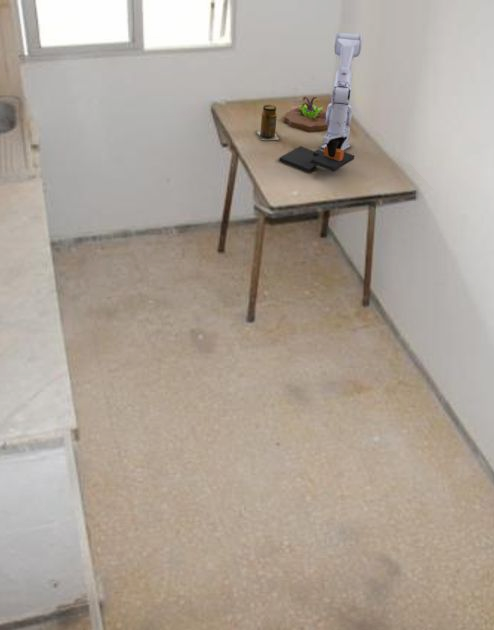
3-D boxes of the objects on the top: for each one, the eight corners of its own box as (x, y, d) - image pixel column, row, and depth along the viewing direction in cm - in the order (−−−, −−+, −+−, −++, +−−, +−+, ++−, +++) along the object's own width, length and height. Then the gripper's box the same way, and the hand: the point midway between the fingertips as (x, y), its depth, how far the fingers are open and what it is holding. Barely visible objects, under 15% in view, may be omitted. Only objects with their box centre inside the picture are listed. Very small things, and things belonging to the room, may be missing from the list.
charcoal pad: (325, 148, 277) (327, 136, 274) (354, 159, 271) (356, 146, 268) (304, 160, 268) (305, 147, 265) (333, 171, 262) (335, 159, 259)
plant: (312, 135, 296) (315, 109, 289) (276, 120, 306) (278, 95, 300) (342, 122, 308) (345, 97, 301) (307, 108, 318) (309, 83, 311)
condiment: (273, 131, 298) (276, 103, 291) (279, 139, 291) (281, 111, 284) (256, 132, 296) (258, 103, 289) (261, 140, 290) (263, 112, 283)
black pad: (300, 149, 285) (300, 146, 284) (329, 160, 279) (330, 157, 278) (279, 161, 277) (279, 157, 276) (308, 172, 270) (309, 169, 269)
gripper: (336, 129, 253) (331, 164, 261) (358, 117, 262) (353, 152, 270) (319, 123, 256) (315, 158, 265) (341, 112, 265) (337, 146, 274)
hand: (333, 155), depth 268 cm, fingers closed on charcoal pad, 2 cm apart
